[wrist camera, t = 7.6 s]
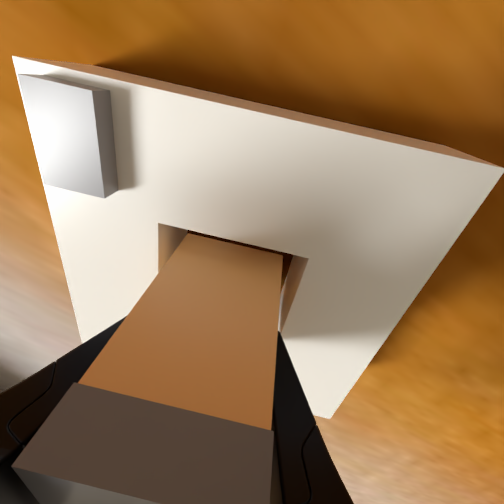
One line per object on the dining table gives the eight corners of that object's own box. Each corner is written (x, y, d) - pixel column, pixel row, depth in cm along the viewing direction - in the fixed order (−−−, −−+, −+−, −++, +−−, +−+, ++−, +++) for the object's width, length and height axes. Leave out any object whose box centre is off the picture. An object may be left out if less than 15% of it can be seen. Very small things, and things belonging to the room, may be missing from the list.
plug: (284, 254, 11) (268, 529, 4) (263, 323, 13) (230, 576, 6) (186, 231, 11) (10, 466, 4) (182, 303, 13) (62, 533, 6)
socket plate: (444, 145, 10) (528, 177, 7) (323, 363, 18) (331, 434, 14) (92, 65, 10) (-17, 52, 7) (120, 314, 18) (76, 372, 14)
